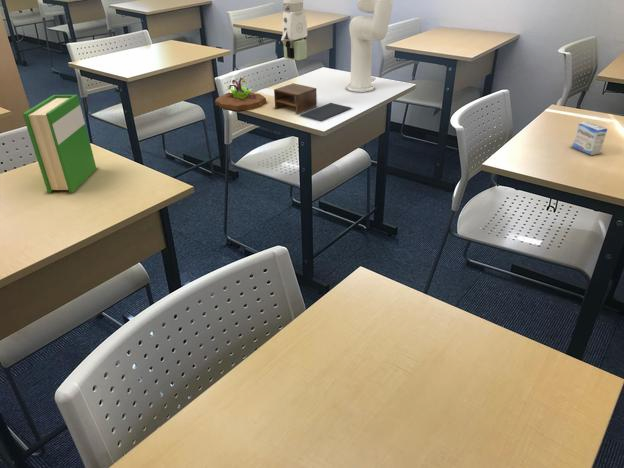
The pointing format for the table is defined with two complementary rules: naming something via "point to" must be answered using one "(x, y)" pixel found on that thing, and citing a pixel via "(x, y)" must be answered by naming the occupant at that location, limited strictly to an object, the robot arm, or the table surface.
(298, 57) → the green square container
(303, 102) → the shelf
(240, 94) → the plant
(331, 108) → the desk pad
